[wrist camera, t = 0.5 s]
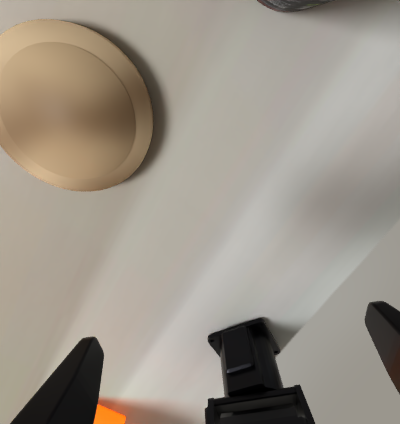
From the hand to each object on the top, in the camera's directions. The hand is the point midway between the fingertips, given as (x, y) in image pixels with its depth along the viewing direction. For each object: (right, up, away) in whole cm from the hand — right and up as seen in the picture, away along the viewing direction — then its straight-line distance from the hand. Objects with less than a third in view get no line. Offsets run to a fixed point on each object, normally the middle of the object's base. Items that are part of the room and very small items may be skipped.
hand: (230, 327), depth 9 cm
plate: (-9, +10, +9) cm, 16 cm away
